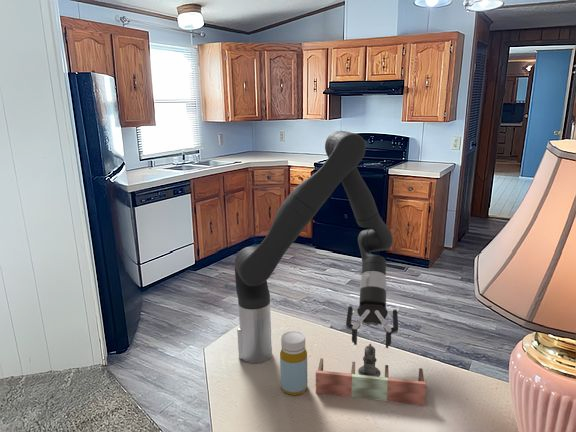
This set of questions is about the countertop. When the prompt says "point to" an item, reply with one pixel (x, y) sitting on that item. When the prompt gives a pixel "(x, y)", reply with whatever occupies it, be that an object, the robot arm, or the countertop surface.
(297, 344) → the bottle
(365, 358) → the grey chess piece
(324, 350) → the countertop surface
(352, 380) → the bay rack
